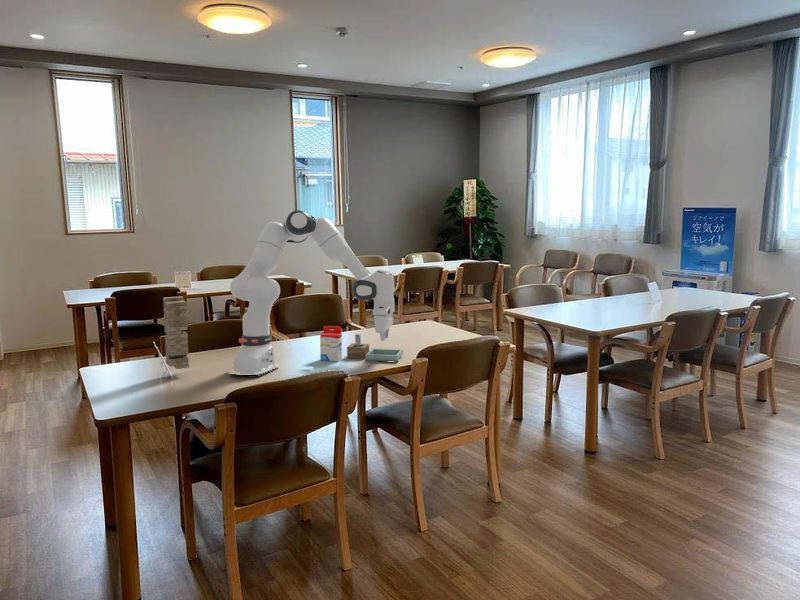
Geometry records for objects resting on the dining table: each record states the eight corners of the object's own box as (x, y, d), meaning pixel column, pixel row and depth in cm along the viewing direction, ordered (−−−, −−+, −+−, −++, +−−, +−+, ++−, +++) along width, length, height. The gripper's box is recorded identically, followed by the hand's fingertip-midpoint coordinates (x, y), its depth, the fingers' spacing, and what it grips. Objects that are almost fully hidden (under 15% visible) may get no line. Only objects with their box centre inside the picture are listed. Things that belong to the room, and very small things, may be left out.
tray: (397, 362, 258) (397, 355, 258) (365, 361, 261) (365, 354, 260) (402, 356, 270) (402, 349, 269) (372, 355, 272) (372, 348, 272)
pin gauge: (360, 357, 268) (359, 335, 267) (354, 357, 269) (354, 335, 267) (361, 356, 271) (361, 334, 269) (356, 355, 271) (355, 333, 270)
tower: (170, 370, 246) (166, 299, 242) (165, 366, 253) (161, 297, 249) (190, 368, 250) (186, 298, 246) (185, 363, 257) (181, 295, 253)
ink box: (320, 360, 262) (319, 327, 260) (323, 358, 267) (323, 325, 265) (339, 361, 260) (338, 328, 258) (342, 359, 265) (341, 326, 263)
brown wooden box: (364, 359, 265) (364, 347, 264) (347, 358, 267) (347, 347, 266) (369, 354, 273) (369, 344, 272) (352, 354, 274) (351, 343, 274)
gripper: (382, 304, 273) (382, 334, 275) (371, 311, 253) (372, 343, 255) (396, 304, 272) (396, 334, 274) (386, 311, 252) (386, 344, 254)
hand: (384, 339), depth 264 cm, fingers open, 4 cm apart
